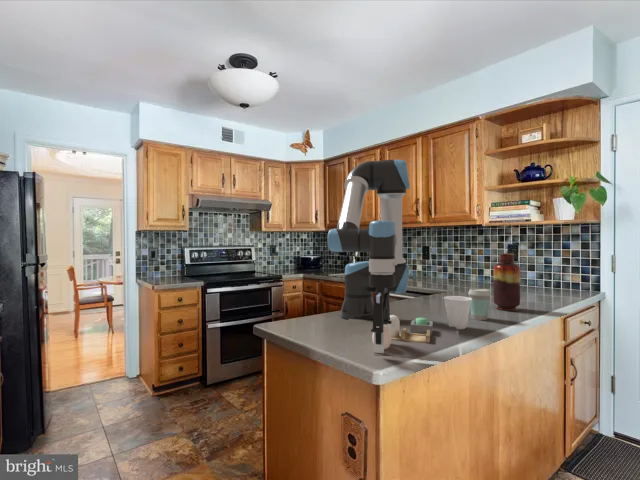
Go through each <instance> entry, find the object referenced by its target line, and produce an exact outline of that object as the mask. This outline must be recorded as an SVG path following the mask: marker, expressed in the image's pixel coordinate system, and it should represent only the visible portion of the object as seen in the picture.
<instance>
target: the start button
mask: <svg viewBox="0 0 640 480" xmlns="http://www.w3.org/2000/svg"><path fill="white" fill-rule="evenodd" d="M415 320H416V324H421V325H428V321H429V319H428V318H425V317H415Z"/></svg>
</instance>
